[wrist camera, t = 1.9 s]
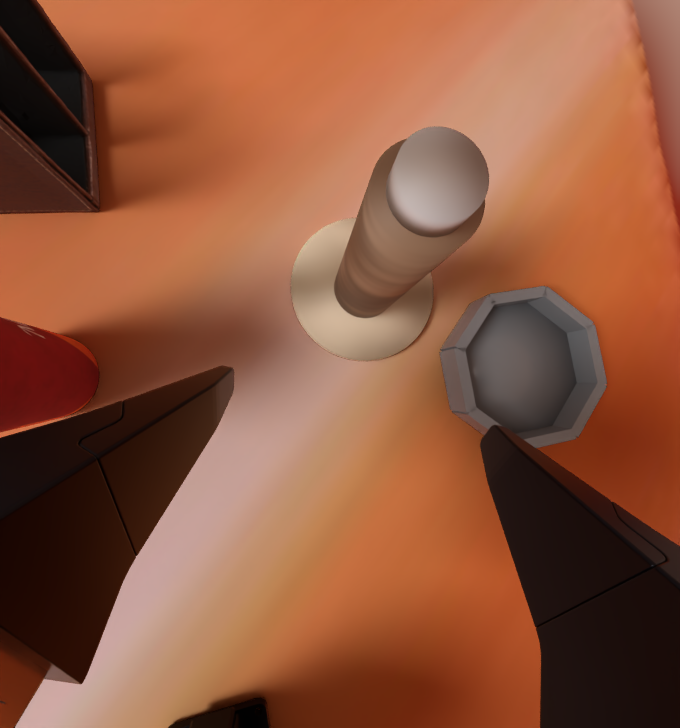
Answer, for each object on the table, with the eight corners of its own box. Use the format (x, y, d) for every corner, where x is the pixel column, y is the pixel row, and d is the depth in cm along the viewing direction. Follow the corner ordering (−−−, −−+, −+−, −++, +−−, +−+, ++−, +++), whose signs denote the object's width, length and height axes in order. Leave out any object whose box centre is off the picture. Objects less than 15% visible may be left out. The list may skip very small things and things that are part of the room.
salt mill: (398, 313, 24) (516, 230, 11) (339, 322, 24) (391, 245, 11) (387, 255, 24) (491, 106, 11) (329, 262, 24) (367, 113, 11)
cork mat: (442, 348, 25) (445, 348, 25) (304, 372, 24) (304, 372, 23) (417, 214, 25) (419, 210, 25) (279, 228, 24) (279, 225, 23)
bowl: (588, 425, 26) (616, 429, 24) (458, 454, 25) (475, 461, 22) (560, 289, 27) (585, 279, 24) (431, 308, 25) (445, 300, 23)
